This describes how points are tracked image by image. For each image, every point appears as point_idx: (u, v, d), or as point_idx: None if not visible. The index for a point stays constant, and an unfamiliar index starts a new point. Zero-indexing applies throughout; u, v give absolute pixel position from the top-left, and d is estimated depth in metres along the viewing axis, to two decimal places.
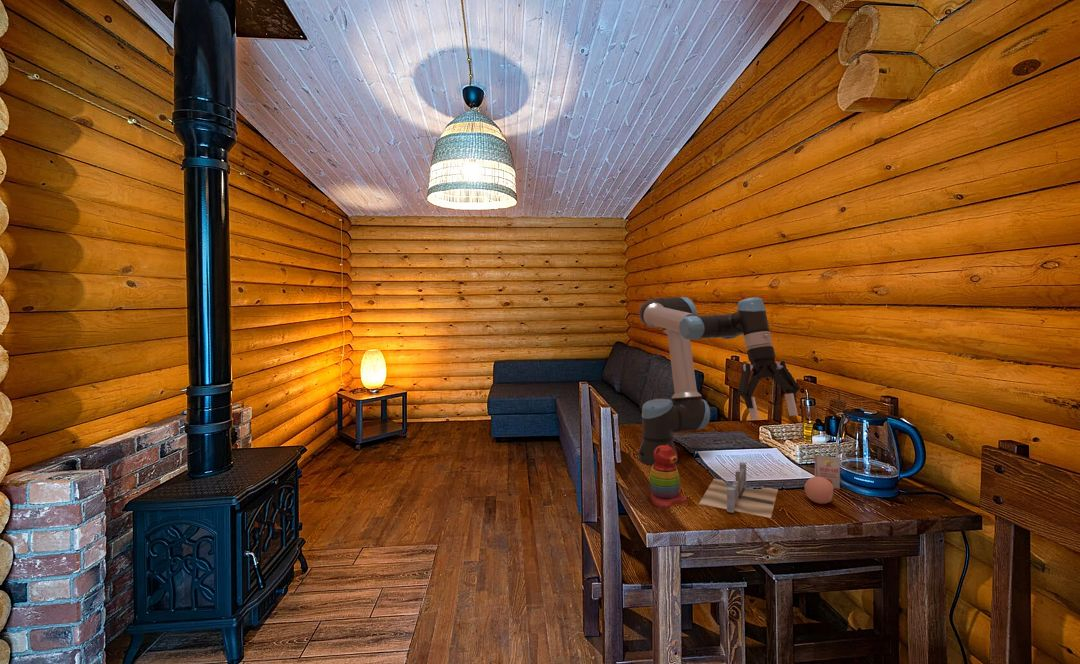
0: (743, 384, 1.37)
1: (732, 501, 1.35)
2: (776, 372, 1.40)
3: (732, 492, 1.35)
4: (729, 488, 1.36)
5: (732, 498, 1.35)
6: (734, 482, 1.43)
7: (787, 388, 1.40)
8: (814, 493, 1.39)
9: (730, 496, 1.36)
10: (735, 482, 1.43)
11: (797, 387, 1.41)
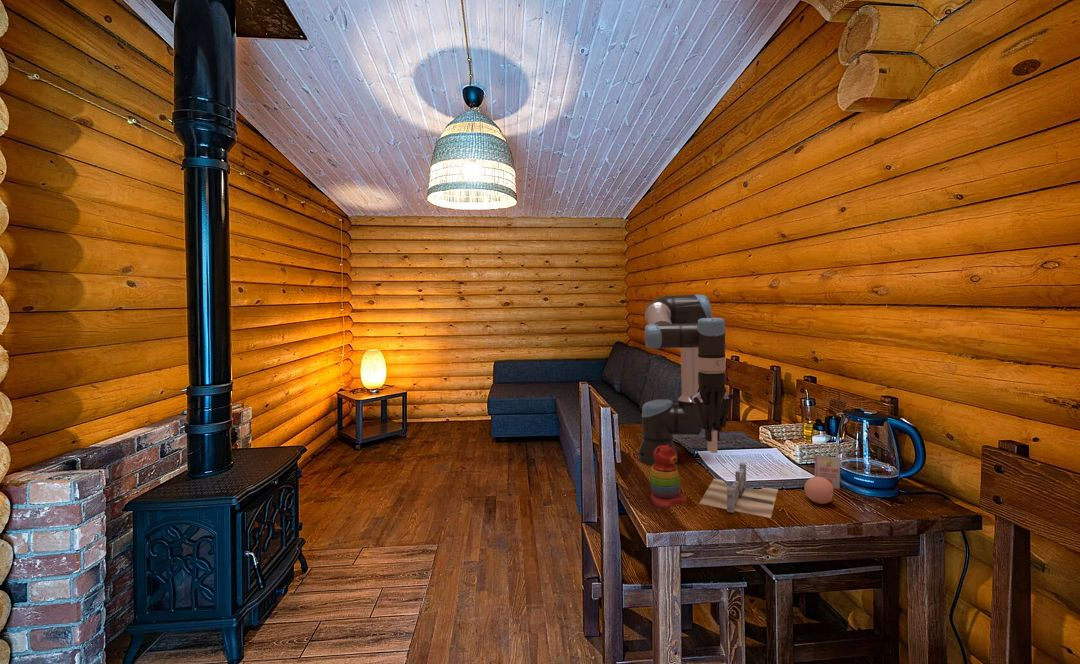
0: (700, 419, 1.33)
1: (732, 501, 1.35)
2: (719, 401, 1.33)
3: (732, 492, 1.35)
4: (729, 488, 1.36)
5: (732, 498, 1.35)
6: (734, 482, 1.43)
7: (715, 422, 1.34)
8: (814, 493, 1.39)
9: (730, 496, 1.36)
10: (735, 482, 1.43)
11: (724, 424, 1.34)
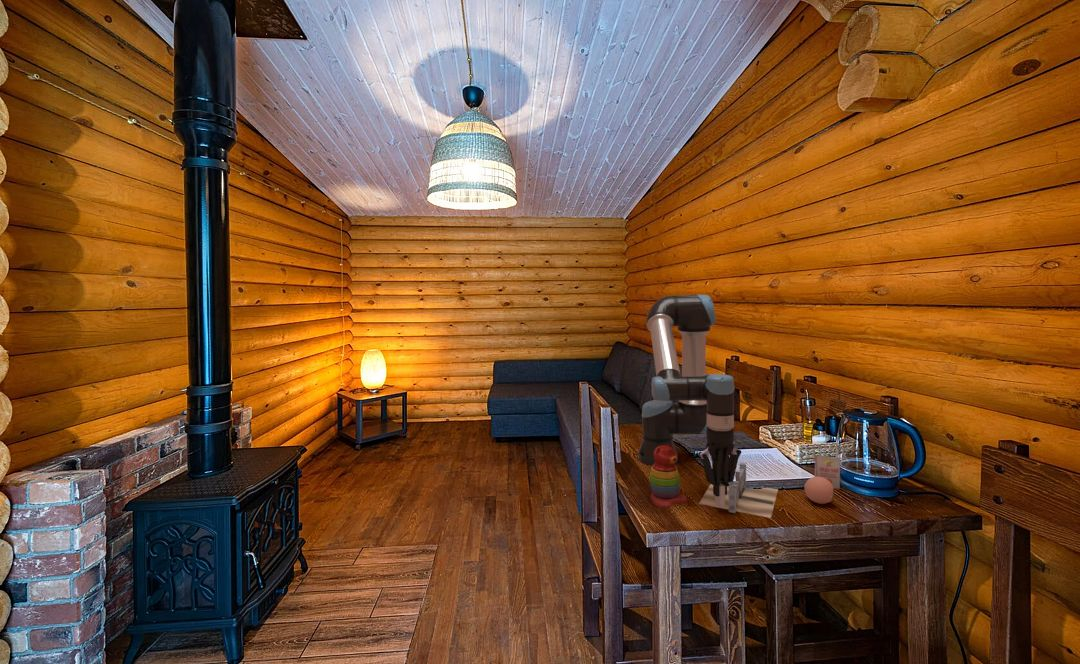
0: (708, 474, 1.35)
1: (734, 501, 1.35)
2: (727, 457, 1.35)
3: (734, 492, 1.35)
4: (731, 488, 1.36)
5: (734, 498, 1.35)
6: (735, 482, 1.43)
7: (723, 477, 1.36)
8: (814, 493, 1.39)
9: (731, 496, 1.35)
10: (736, 482, 1.43)
11: (731, 479, 1.36)
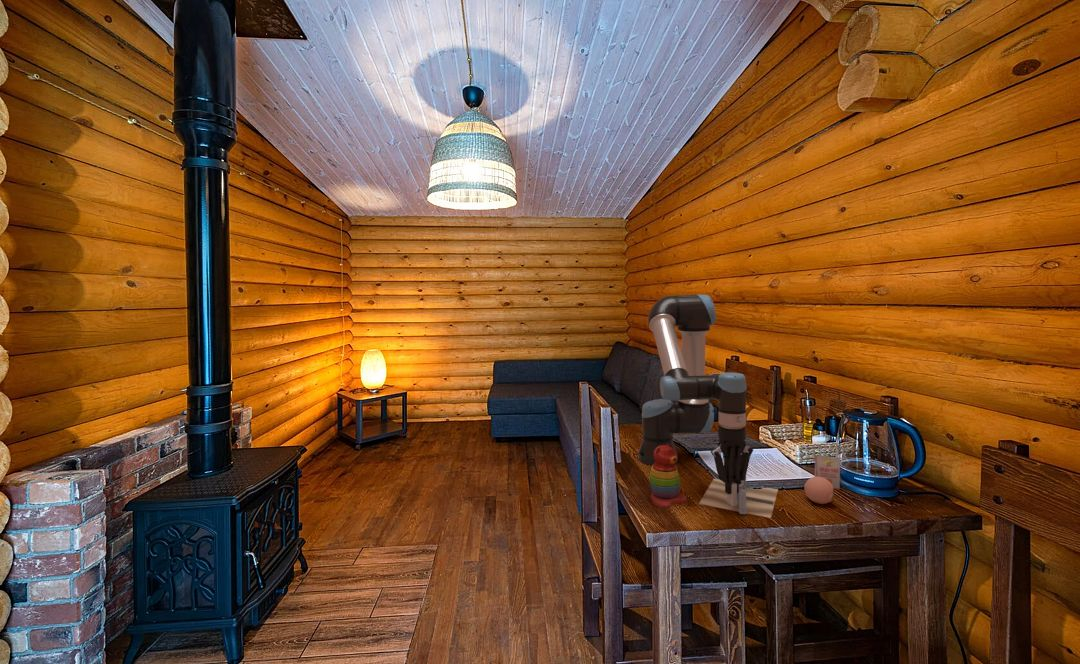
0: (720, 472, 1.36)
1: (745, 503, 1.34)
2: (739, 455, 1.36)
3: (745, 493, 1.34)
4: (741, 490, 1.35)
5: (745, 499, 1.34)
6: None
7: (735, 475, 1.37)
8: (814, 493, 1.39)
9: (742, 498, 1.34)
10: None
11: (743, 477, 1.37)
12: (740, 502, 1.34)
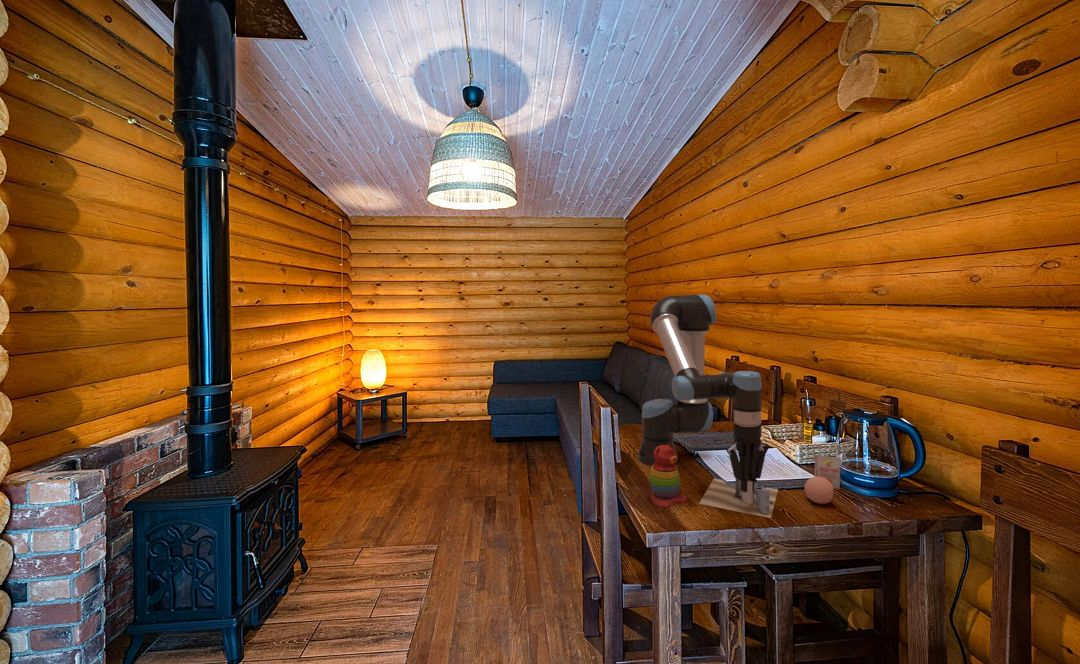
0: (736, 470, 1.37)
1: (768, 501, 1.34)
2: (754, 453, 1.37)
3: (768, 492, 1.34)
4: (764, 489, 1.35)
5: (768, 498, 1.34)
6: None
7: (750, 473, 1.38)
8: (814, 493, 1.39)
9: (767, 497, 1.34)
10: None
11: (759, 475, 1.38)
12: (765, 502, 1.34)
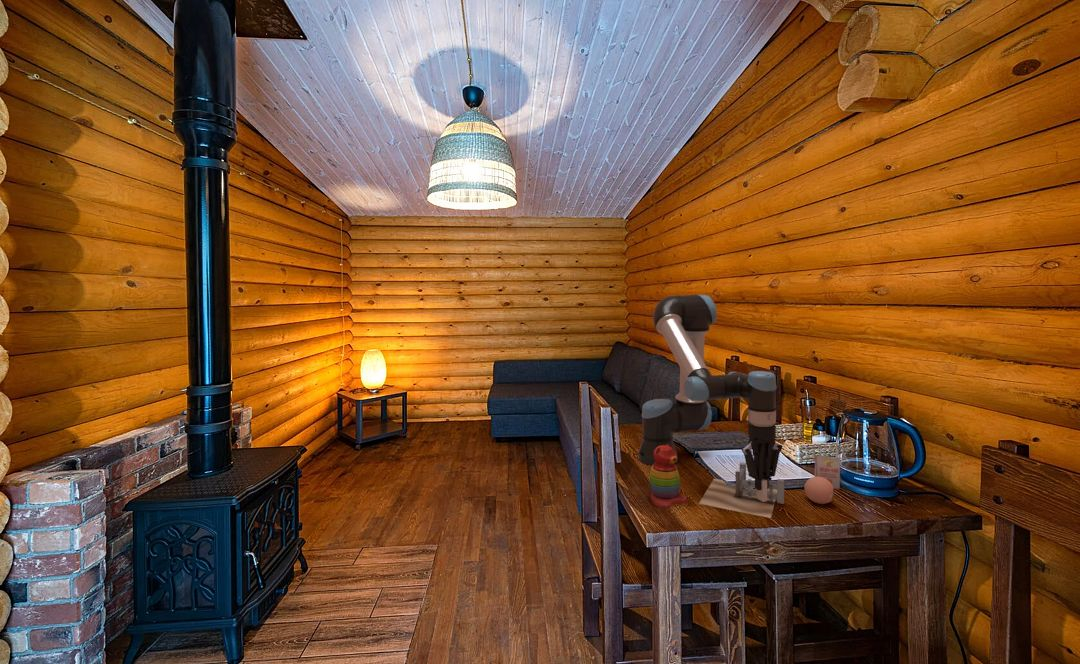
0: (751, 469, 1.38)
1: None
2: (769, 452, 1.38)
3: (783, 482, 1.41)
4: (780, 480, 1.40)
5: None
6: (751, 480, 1.44)
7: (765, 471, 1.40)
8: (814, 493, 1.39)
9: None
10: (750, 480, 1.45)
11: (773, 473, 1.40)
12: (783, 492, 1.40)
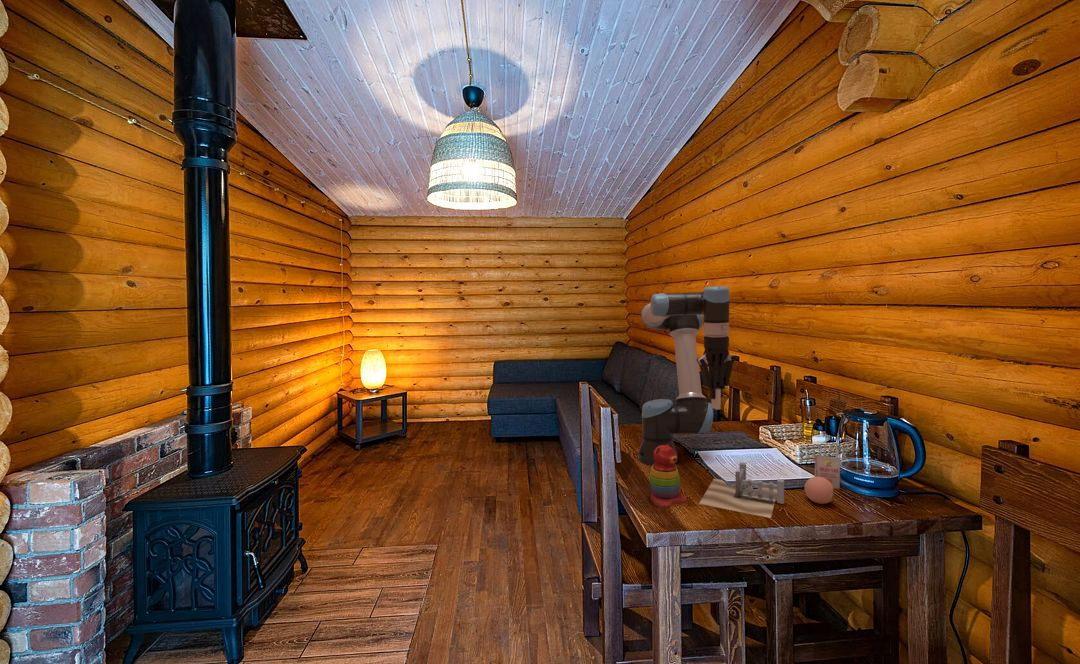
0: (705, 378, 1.46)
1: None
2: (722, 362, 1.46)
3: (783, 482, 1.41)
4: (780, 480, 1.40)
5: None
6: (751, 480, 1.44)
7: (719, 381, 1.48)
8: (814, 493, 1.39)
9: None
10: (750, 480, 1.45)
11: (726, 383, 1.48)
12: (783, 492, 1.40)
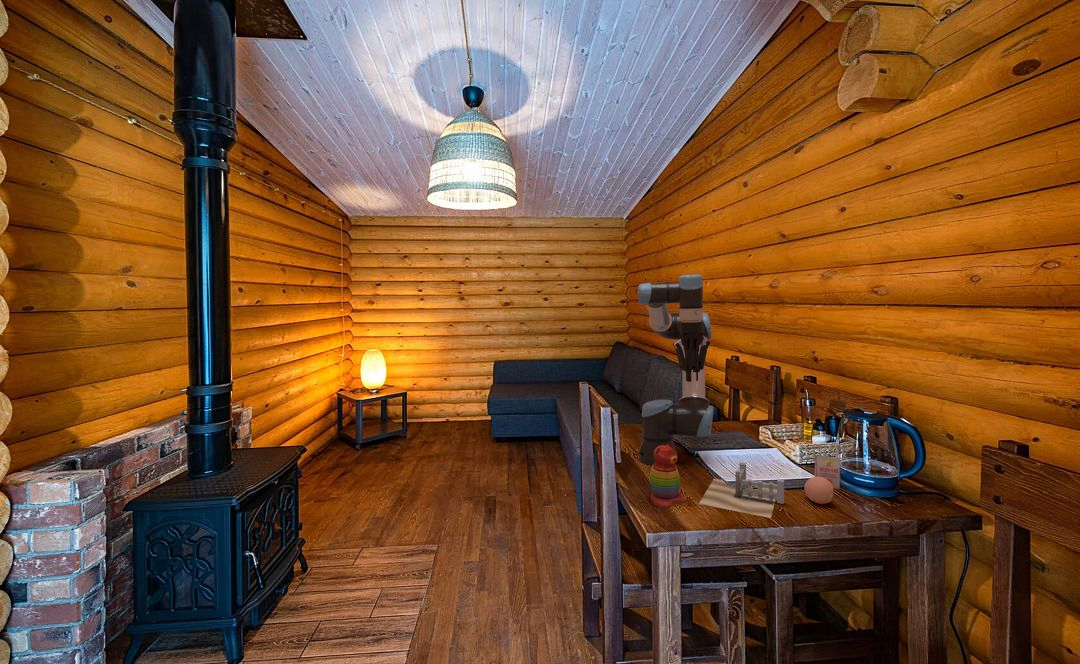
0: (681, 362, 1.54)
1: None
2: (697, 347, 1.54)
3: (783, 482, 1.41)
4: (780, 480, 1.40)
5: None
6: (751, 480, 1.44)
7: (694, 365, 1.56)
8: (814, 493, 1.39)
9: None
10: (750, 480, 1.45)
11: (702, 366, 1.56)
12: (783, 492, 1.40)
